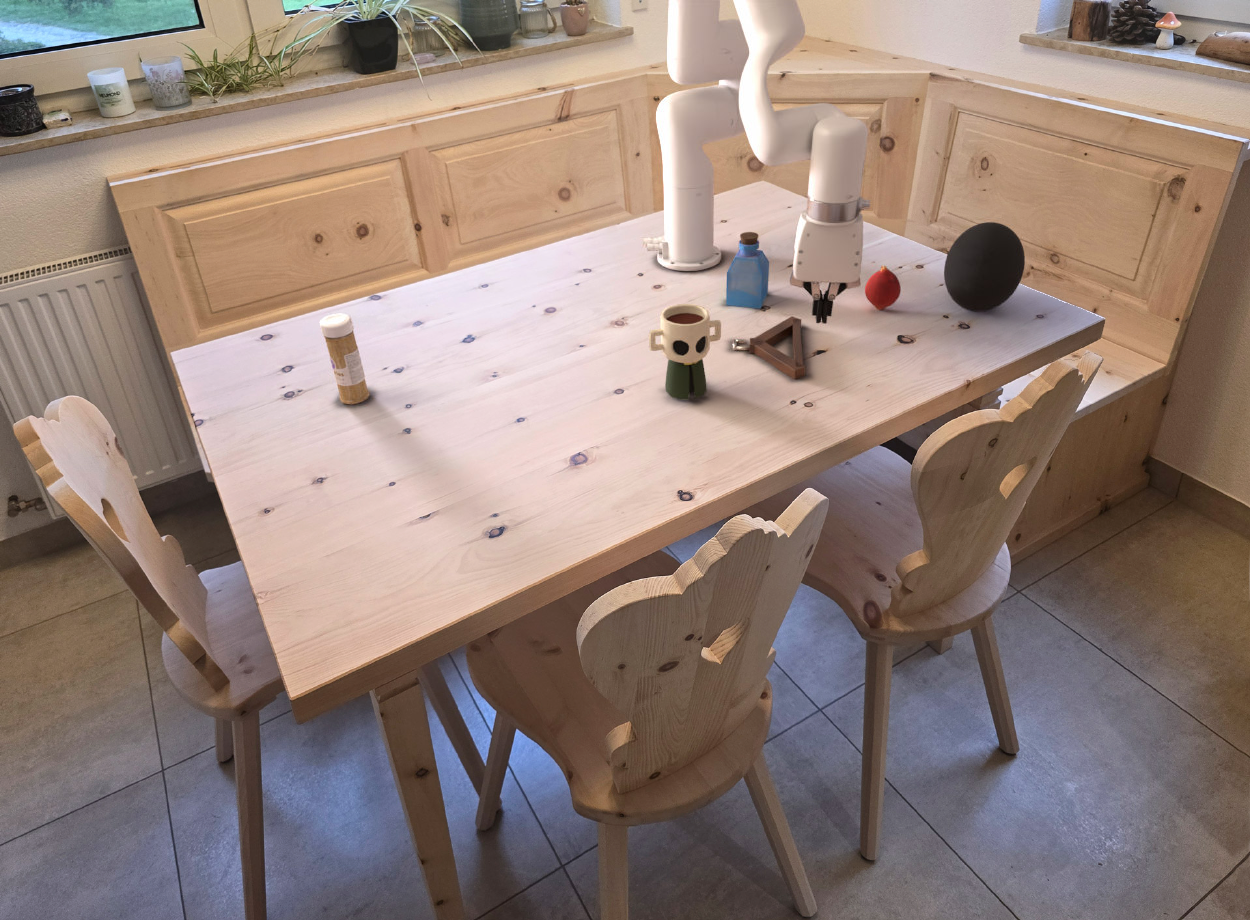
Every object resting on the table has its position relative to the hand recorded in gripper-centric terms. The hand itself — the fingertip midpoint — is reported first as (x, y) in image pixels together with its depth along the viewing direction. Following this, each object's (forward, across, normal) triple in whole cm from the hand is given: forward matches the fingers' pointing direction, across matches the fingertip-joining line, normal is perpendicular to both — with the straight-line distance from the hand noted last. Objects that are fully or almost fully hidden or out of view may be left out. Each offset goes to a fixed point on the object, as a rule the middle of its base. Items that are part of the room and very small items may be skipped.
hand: (821, 319), depth 141 cm
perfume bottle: (+6, +12, -17) cm, 22 cm away
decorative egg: (+5, -27, -15) cm, 31 cm away
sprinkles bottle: (+6, +71, +21) cm, 74 cm away
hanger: (+5, +8, +2) cm, 10 cm away
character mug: (+5, +20, +16) cm, 26 cm away
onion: (+5, -11, -14) cm, 19 cm away
